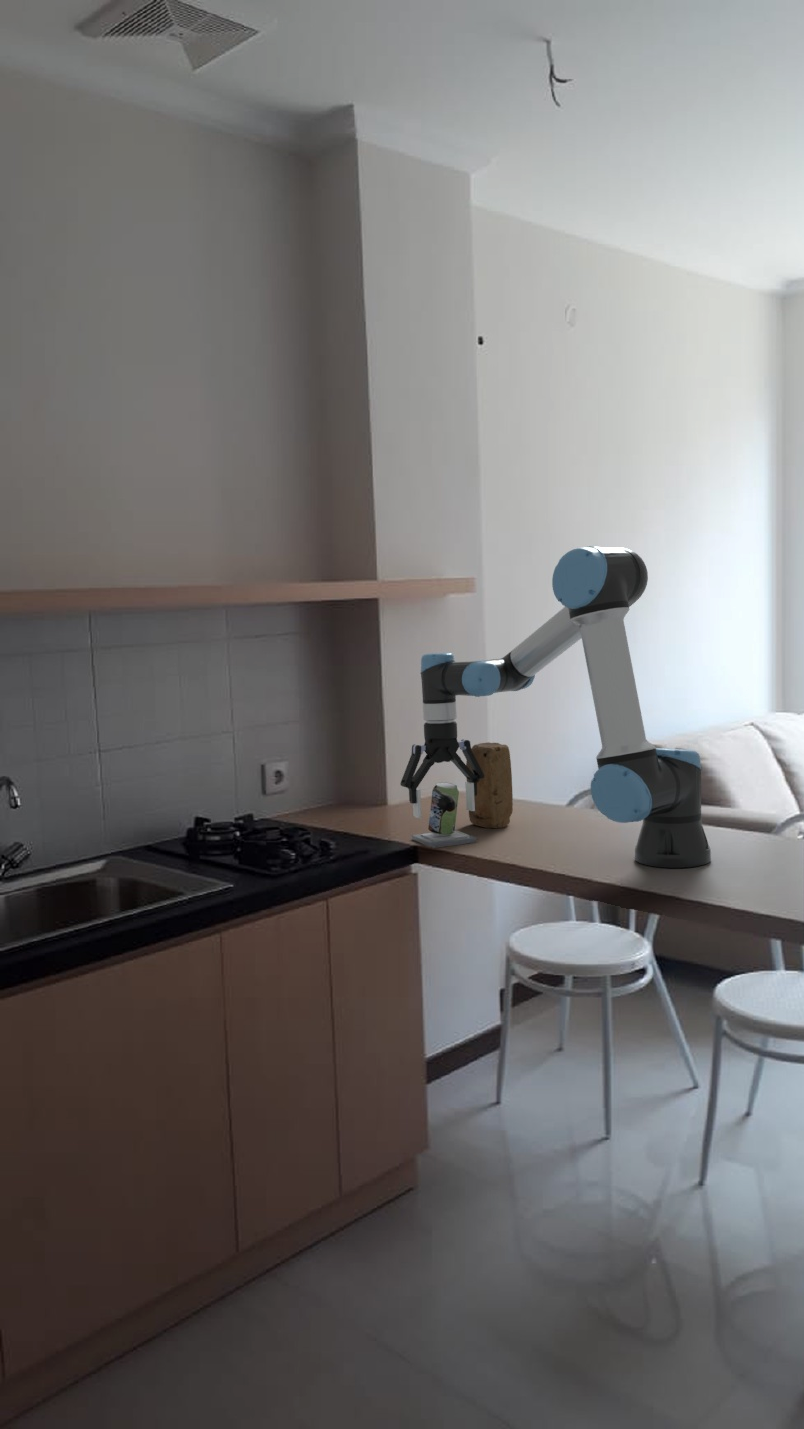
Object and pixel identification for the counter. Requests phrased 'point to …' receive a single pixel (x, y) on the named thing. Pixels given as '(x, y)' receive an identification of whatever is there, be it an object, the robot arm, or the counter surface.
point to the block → (492, 786)
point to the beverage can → (443, 809)
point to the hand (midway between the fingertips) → (444, 814)
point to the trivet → (444, 839)
